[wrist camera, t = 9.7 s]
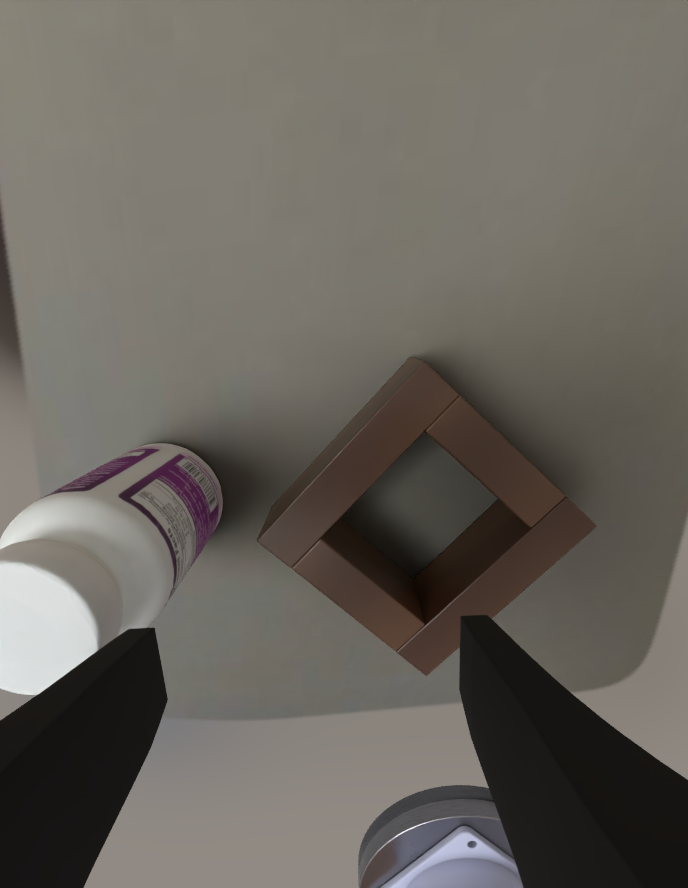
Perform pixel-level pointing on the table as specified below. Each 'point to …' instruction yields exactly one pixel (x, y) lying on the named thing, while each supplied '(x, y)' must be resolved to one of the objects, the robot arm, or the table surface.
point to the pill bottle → (99, 559)
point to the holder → (463, 562)
